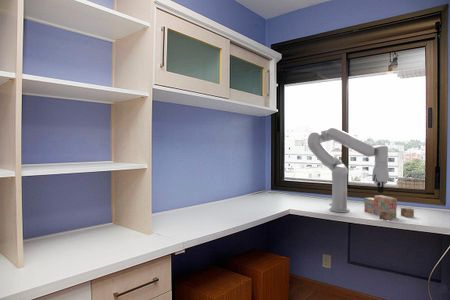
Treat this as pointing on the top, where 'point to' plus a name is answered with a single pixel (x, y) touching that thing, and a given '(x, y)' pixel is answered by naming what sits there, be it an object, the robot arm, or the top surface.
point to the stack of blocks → (380, 205)
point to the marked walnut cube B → (407, 212)
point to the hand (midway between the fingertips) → (380, 192)
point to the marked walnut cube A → (386, 215)
